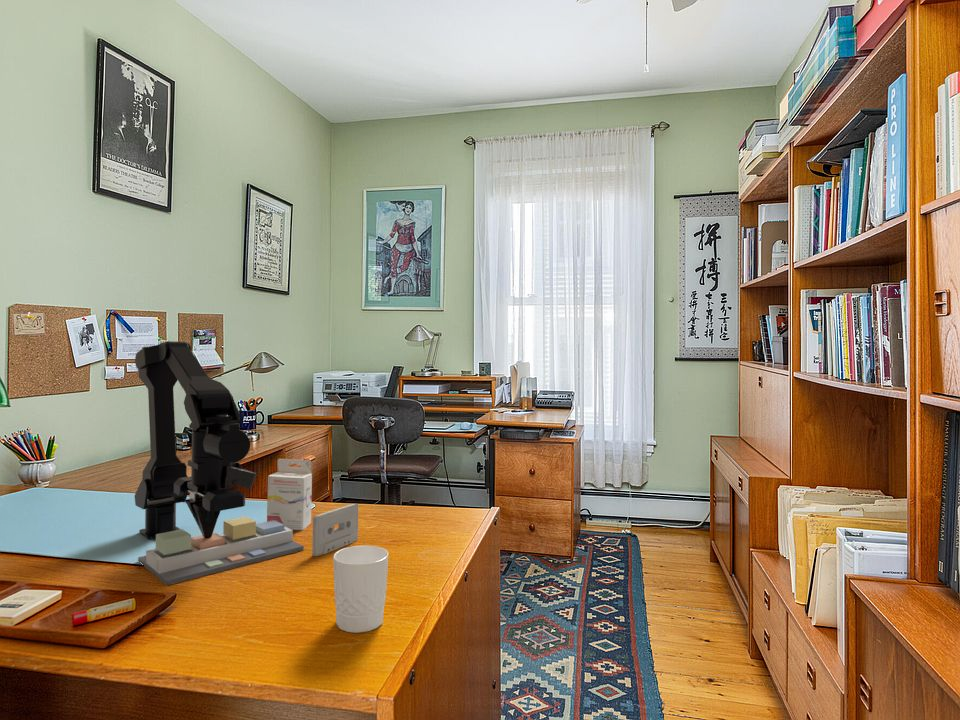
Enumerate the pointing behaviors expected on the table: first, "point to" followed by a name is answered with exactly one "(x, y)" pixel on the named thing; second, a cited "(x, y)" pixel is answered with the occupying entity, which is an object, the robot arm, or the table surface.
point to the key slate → (269, 527)
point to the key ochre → (239, 528)
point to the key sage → (173, 541)
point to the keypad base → (218, 556)
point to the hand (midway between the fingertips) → (207, 537)
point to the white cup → (360, 587)
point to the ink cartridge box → (290, 494)
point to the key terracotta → (207, 541)
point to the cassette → (335, 538)
